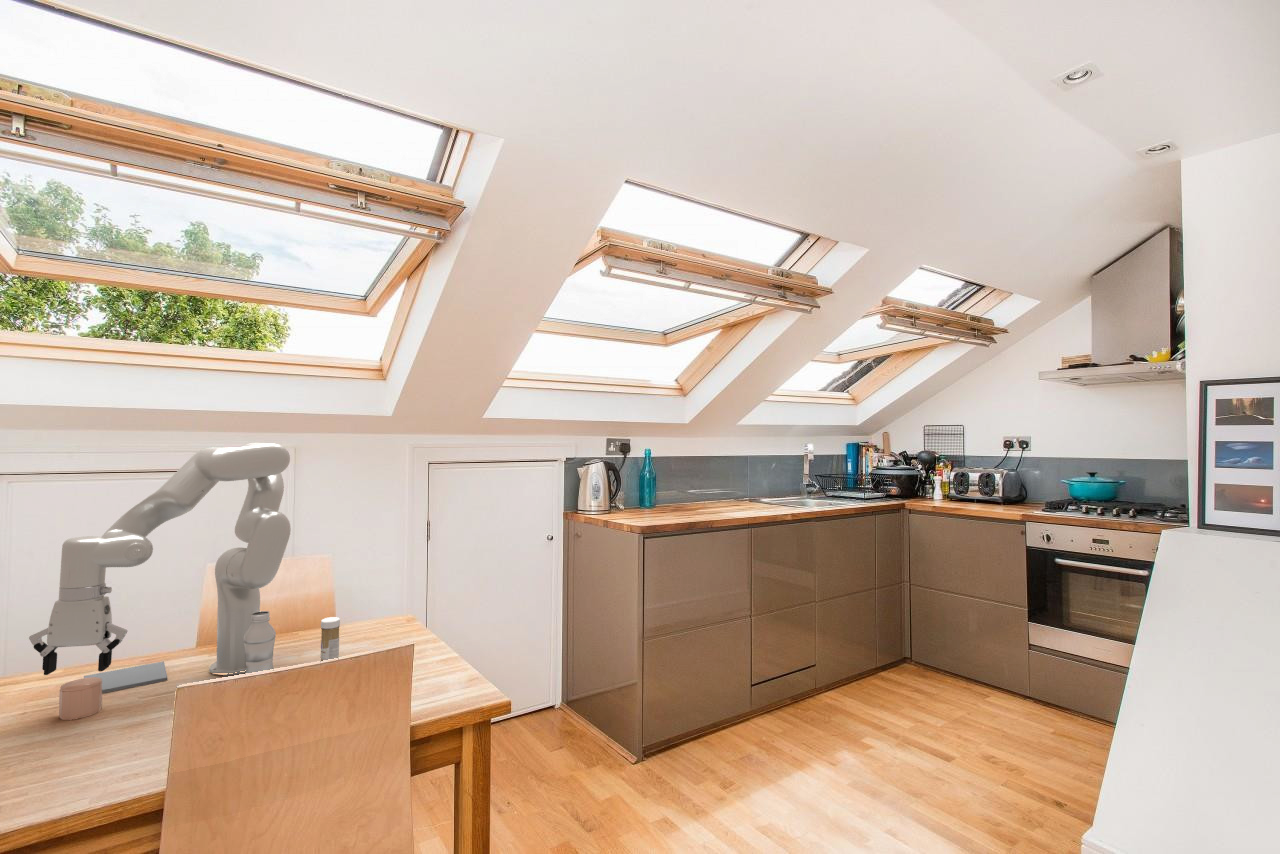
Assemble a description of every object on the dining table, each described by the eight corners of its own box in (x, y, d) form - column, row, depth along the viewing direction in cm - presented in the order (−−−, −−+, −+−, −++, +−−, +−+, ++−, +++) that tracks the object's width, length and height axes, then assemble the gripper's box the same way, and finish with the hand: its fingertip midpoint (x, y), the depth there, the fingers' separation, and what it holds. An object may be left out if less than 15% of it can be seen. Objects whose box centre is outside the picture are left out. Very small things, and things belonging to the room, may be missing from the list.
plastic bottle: (281, 694, 148) (283, 610, 148) (256, 706, 141) (257, 618, 141) (261, 690, 150) (263, 608, 150) (235, 701, 143) (237, 615, 144)
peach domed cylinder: (109, 706, 140) (109, 677, 140) (80, 720, 133) (81, 690, 133) (80, 705, 140) (81, 676, 141) (50, 719, 134) (51, 689, 134)
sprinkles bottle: (316, 670, 163) (317, 619, 163) (334, 665, 166) (335, 615, 167) (324, 674, 160) (325, 622, 160) (342, 669, 163) (343, 618, 164)
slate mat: (163, 664, 166) (163, 661, 166) (167, 680, 155) (167, 677, 155) (83, 679, 155) (83, 675, 155) (81, 697, 145) (81, 694, 145)
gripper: (136, 587, 143) (132, 662, 143) (44, 591, 138) (39, 668, 137) (120, 595, 136) (115, 674, 135) (22, 598, 131) (16, 680, 130)
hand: (77, 671), depth 136 cm, fingers open, 9 cm apart
